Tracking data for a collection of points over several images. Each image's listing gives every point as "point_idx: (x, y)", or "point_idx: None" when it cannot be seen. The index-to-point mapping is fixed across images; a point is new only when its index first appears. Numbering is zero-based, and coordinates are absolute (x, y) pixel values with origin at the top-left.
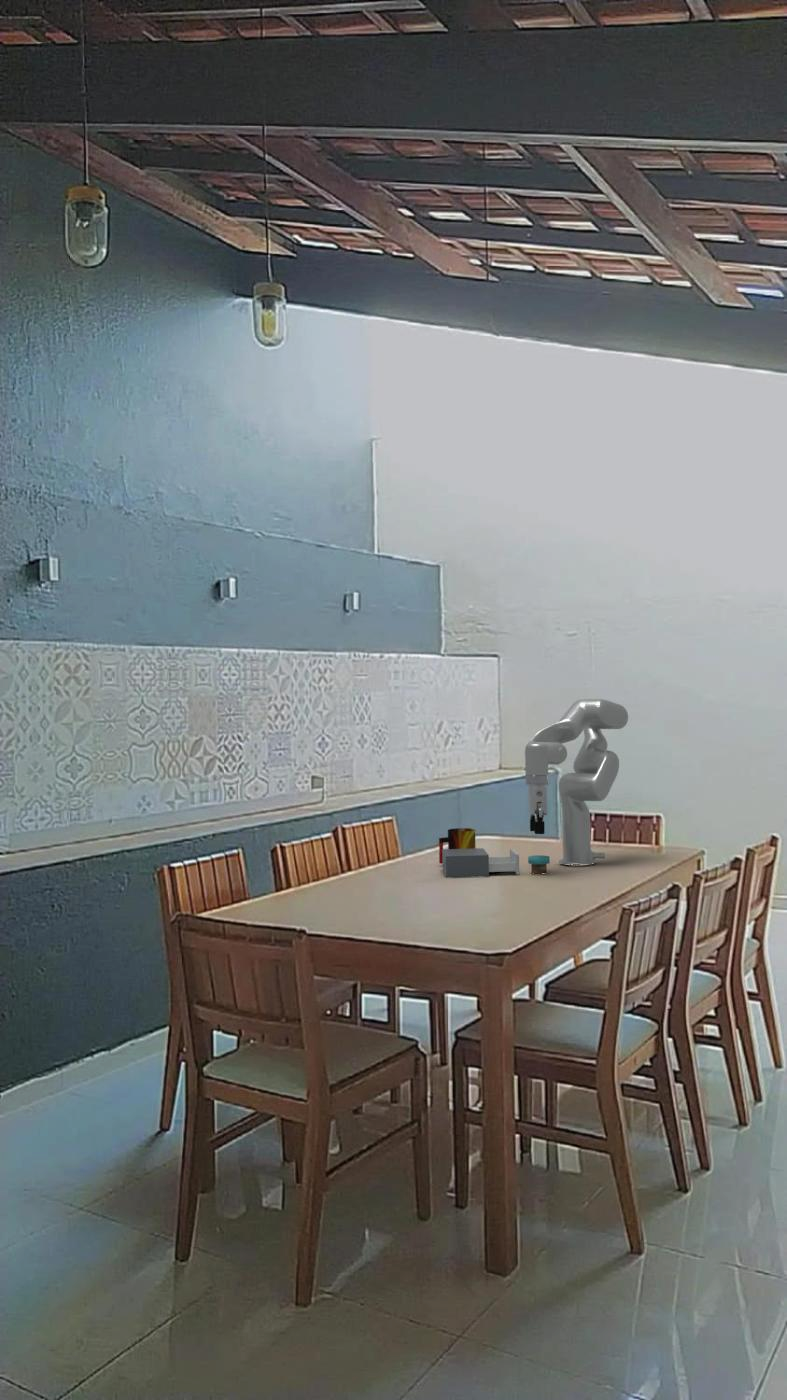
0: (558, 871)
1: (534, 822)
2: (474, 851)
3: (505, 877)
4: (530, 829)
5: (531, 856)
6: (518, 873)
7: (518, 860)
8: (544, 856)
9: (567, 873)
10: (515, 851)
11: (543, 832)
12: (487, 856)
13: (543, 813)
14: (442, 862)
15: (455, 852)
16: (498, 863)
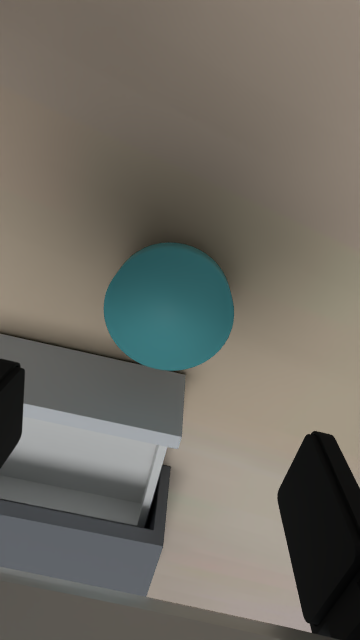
0: (144, 160)
1: (317, 629)
2: (27, 551)
3: (212, 430)
4: (9, 448)
5: (137, 345)
6: (184, 379)
7: (181, 416)
8: (165, 278)
9: (230, 139)
10: (58, 412)
11: (332, 449)
12: (162, 543)
13: (20, 592)
14: None
15: None
16: (158, 474)
